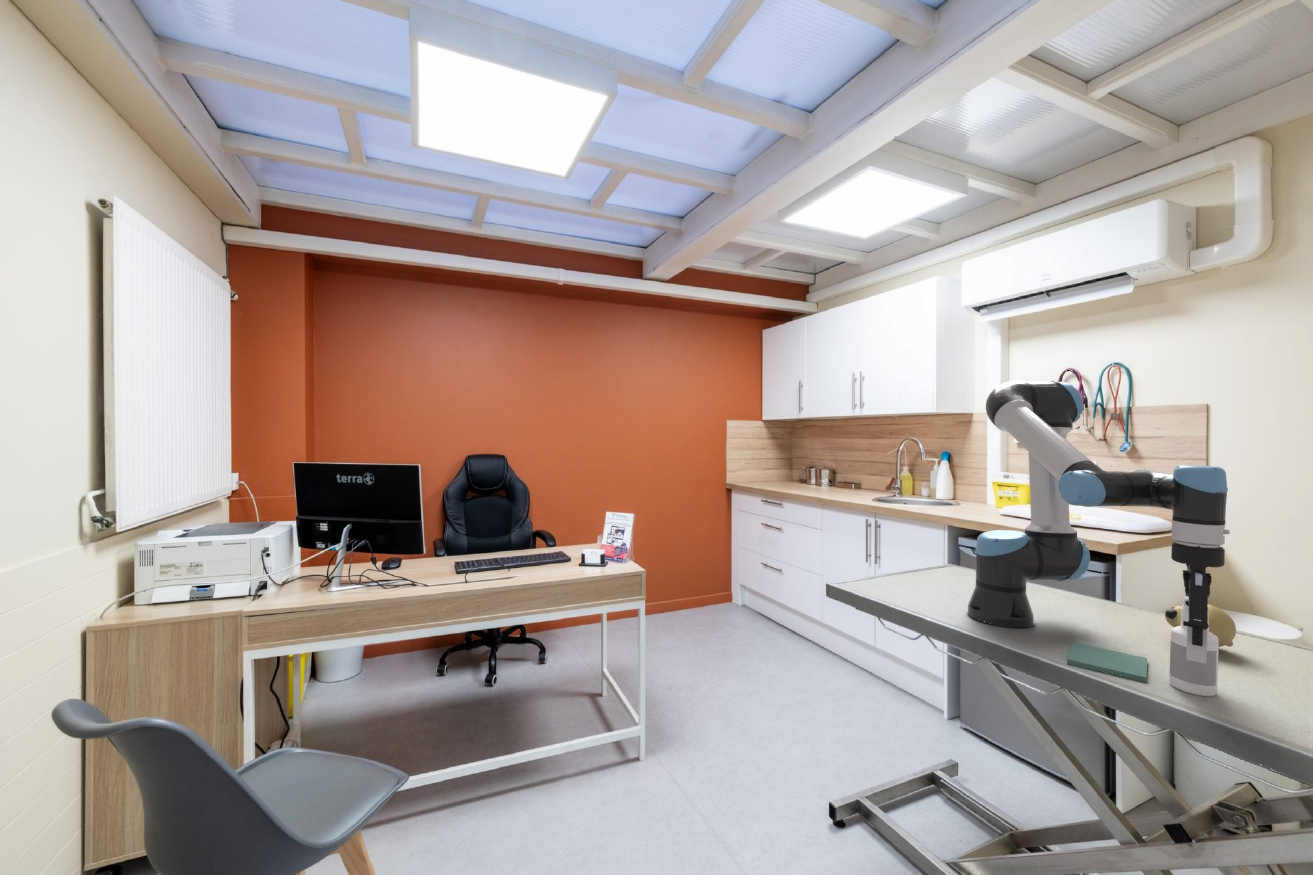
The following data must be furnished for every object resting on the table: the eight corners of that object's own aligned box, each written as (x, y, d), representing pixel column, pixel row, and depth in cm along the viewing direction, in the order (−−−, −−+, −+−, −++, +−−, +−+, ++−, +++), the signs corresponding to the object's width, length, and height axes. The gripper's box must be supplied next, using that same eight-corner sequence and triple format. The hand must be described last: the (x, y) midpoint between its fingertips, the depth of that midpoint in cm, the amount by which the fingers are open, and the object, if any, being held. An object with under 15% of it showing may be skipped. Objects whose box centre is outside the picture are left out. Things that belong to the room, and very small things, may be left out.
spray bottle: (1159, 681, 113) (1162, 593, 112) (1190, 680, 113) (1192, 593, 113) (1195, 697, 106) (1197, 604, 105) (1227, 696, 106) (1230, 604, 106)
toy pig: (1184, 635, 138) (1185, 593, 138) (1246, 654, 127) (1247, 608, 126) (1155, 638, 136) (1156, 595, 135) (1215, 658, 124) (1217, 611, 124)
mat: (1066, 663, 121) (1067, 658, 121) (1073, 646, 130) (1073, 642, 130) (1146, 682, 112) (1146, 677, 112) (1147, 662, 122) (1147, 657, 122)
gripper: (1231, 557, 97) (1227, 677, 98) (1219, 537, 116) (1216, 638, 116) (1172, 550, 102) (1169, 664, 103) (1170, 532, 121) (1168, 629, 121)
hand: (1194, 650), depth 109 cm, fingers open, 12 cm apart
